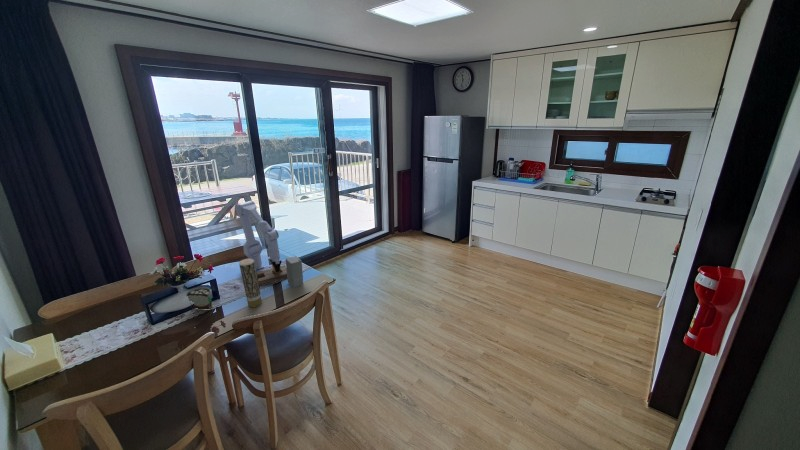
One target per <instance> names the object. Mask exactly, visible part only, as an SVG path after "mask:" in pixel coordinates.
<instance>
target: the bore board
mask: <svg viewBox="0 0 800 450" xmlns="http://www.w3.org/2000/svg"><path fill="white" fill-rule="evenodd" d="M280 271H281V273H278V274H274V272H273V268H269V269H265V270H261V271H256V273H257V278H258V283H259V287H260V286H264V285H268V284H271V283H274V282H278V281H281V280H286V279H287V268H286V264H284V265H280Z"/></svg>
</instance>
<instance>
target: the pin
mask: <svg viewBox="0 0 800 450" xmlns="http://www.w3.org/2000/svg"><path fill="white" fill-rule="evenodd" d="M272 262H274V261H272ZM271 267H272V268H273V272H274V274H278V273H281V271H279V272H276V271H275V268H274V266H273V265H272V263H271ZM272 268H271V269H272Z"/></svg>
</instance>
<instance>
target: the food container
mask: <svg viewBox="0 0 800 450" xmlns="http://www.w3.org/2000/svg"><path fill="white" fill-rule="evenodd" d="M185 295H186V297H187V298H188V300H189V302H190V301H192V302H194V305H193V307H194V308H198V309H211V308H212V309H213V303H212V302H213V301H212V295H213V292H212V291H211V289H210V288H208V287H197V288H193V289H191V290H189V291H187V292H186V294H185ZM212 309H211V310H212Z"/></svg>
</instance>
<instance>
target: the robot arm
mask: <svg viewBox="0 0 800 450" xmlns="http://www.w3.org/2000/svg"><path fill="white" fill-rule="evenodd" d="M234 209H235V212H236V215H237V217H239V220H240V224H241V226H242V230H243V234H244V236H245V237H244V238H245V240H246V241H245V242H244V244H243V245H242V246H243V247H242V248H243V253H244V255H245V256H246V257H247V259H254V263H255V268H256V270H260V269H264V268H265V266H264V264H263V262H262V257H261V254H262V251H263V246H262V244H261V242H260V240H258V239H256V237H255V235H254V234H255V233H254V230H253V226H252V222H251V219H253V220H254V222H255V223H256V224H257V227H258V229H259V231H260V232H261V234H263V238H264V241H265V244H266V245H267V250H268V255H269V256H268V257H267V260H269V261H270V262H271V263H272V264H271V266H272V265H273V266H274V268H275V271H276V272H279V271H280V266H282V260H280V258H281V254H280V250H279V244H278V239H279V232H278V231H277V229H274V228H272V227H271V225H270V224H269V223H268V221H266V220H263V218H262V216H261V215H260V214H259V212H258V210H257V205H256V203H255V202H254V201H253V200H249V201H244V202H242V203H237V204H236V205H235V207H234ZM250 218H251V219H250ZM272 261H274V262H272Z"/></svg>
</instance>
